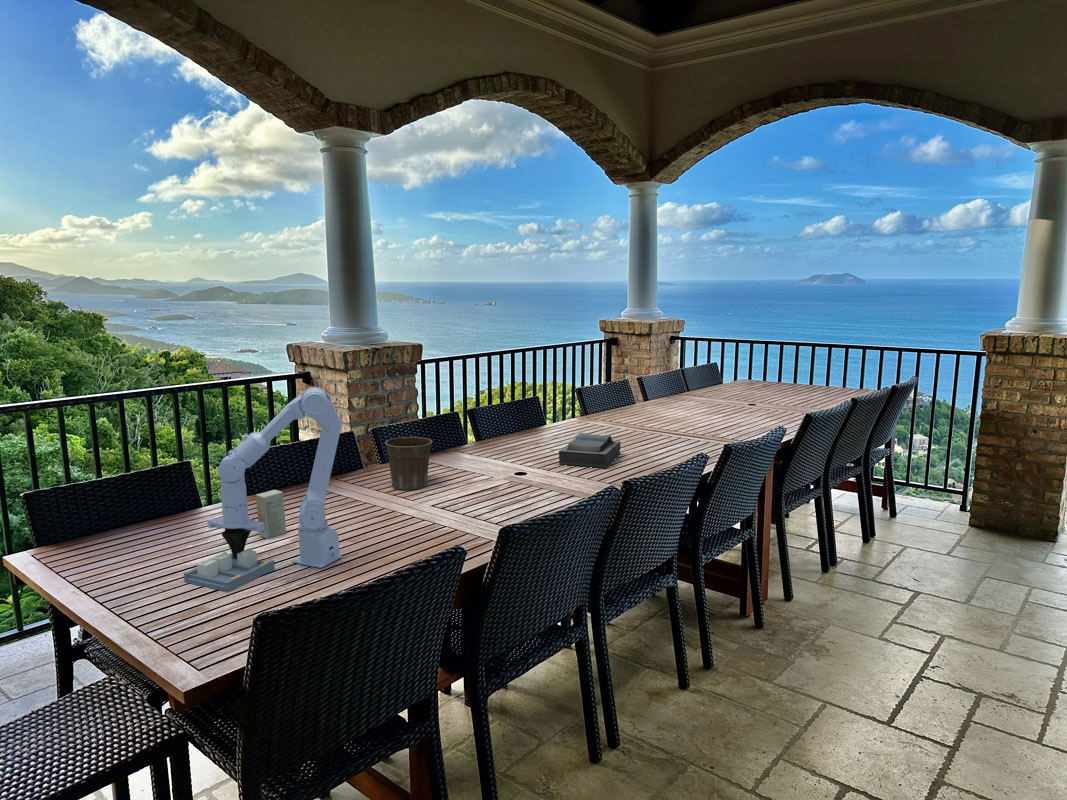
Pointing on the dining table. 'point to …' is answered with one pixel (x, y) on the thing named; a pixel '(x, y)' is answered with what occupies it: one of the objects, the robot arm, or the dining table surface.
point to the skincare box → (271, 513)
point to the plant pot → (409, 462)
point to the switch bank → (230, 576)
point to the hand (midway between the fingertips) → (238, 557)
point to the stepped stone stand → (590, 451)
